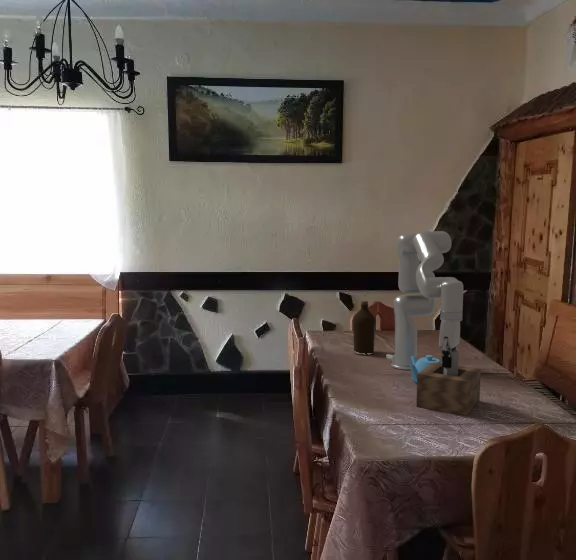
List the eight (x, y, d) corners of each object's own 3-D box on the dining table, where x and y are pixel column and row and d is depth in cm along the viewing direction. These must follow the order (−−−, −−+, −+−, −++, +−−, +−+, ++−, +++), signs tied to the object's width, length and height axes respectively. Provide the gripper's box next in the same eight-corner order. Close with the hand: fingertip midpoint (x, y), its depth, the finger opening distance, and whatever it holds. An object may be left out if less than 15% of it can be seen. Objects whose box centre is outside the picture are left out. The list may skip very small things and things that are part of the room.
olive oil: (356, 356, 279) (357, 303, 276) (349, 350, 290) (350, 300, 286) (378, 355, 282) (379, 302, 278) (370, 349, 292) (371, 299, 289)
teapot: (407, 385, 236) (407, 359, 235) (410, 374, 250) (411, 349, 249) (447, 389, 232) (447, 362, 230) (448, 377, 246) (449, 352, 245)
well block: (416, 406, 212) (417, 373, 211) (432, 392, 227) (433, 362, 225) (465, 415, 203) (467, 381, 201) (479, 401, 218) (480, 369, 216)
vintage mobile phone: (439, 394, 216) (442, 326, 213) (453, 393, 217) (455, 326, 213) (443, 397, 213) (445, 329, 209) (457, 397, 213) (459, 328, 209)
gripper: (448, 310, 220) (446, 358, 222) (432, 318, 205) (431, 369, 208) (468, 312, 216) (466, 361, 218) (454, 321, 201) (452, 373, 204)
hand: (449, 364), depth 213 cm, fingers closed on vintage mobile phone, 5 cm apart
